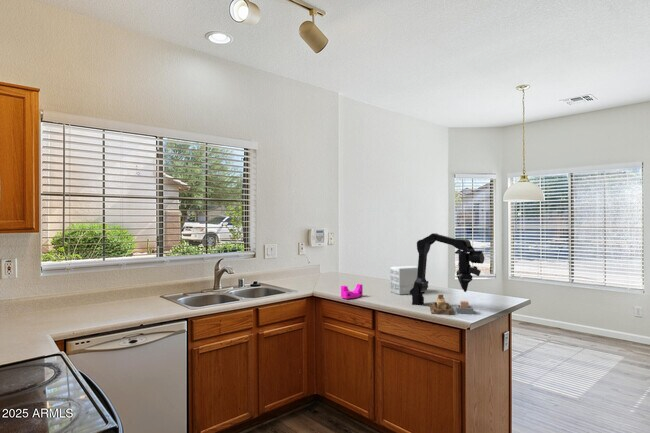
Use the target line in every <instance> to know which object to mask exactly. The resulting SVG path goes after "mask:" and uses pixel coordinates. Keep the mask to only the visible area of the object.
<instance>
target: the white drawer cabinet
mask: <svg viewBox="0 0 650 433" xmlns="http://www.w3.org/2000/svg"><path fill="white" fill-rule="evenodd" d="M389 269H390V270H389V271H390V272H389V273H390V274H389V275H390V280H389V281H390V286H389V287H390V293H393V294H396V295H398V296H400V295H410V290H411V289H412V288H413V286H414V282H415V280H416V278H417V271H418V266H415V265H411V264H410V265H398V266H397V265H396V266H390V267H389Z"/></svg>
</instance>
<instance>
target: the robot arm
mask: <svg viewBox="0 0 650 433" xmlns="http://www.w3.org/2000/svg"><path fill="white" fill-rule="evenodd" d="M435 242H439V243H442V244H446V245H451V246H452V247H454V248H455V249H457V250H456V251H455V252H454V254H455V255H456V254H457V255H458V264H457V266H458V270H456V277H457V279H458V281H459V286H460V287H461V289H462V290H463V292H464V293H467V291H468V287H469V283H470V282H472V281H473V275H475V276H477V277H480V274H481V273H482V272H481V271H482V270H480V269H479V268H478V266H476V265H475V266H474V265H473V266H471V264H470V262H471V263H472V264H481V265H482V264H483V263H484V261H485V255H484V252H483V250H475V248H474V247H473V246H472V243H471V241H470V240H469V239H464V238H455V237H450V236H446V235H443V234H439V233H431V234H430V235H427V236H426V237H424V238H422V239H418V240H417V241H416V250H417V253H418V261H417V267H418V271H417V278H416V280H415V282H414V286H413V288H412V289H411V290H410V294H409V295H411V298H412V300H411V301H412V302H411V305H412V306H424V305H425V296H424V295H425V292H426V291H427V290H428V288H429V280H427V278H426V273H427V259H428V258H427V257H428V254H429V252H430V249H431V246H432V245H433V244H435ZM472 274H473V275H472Z"/></svg>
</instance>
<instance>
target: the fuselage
mask: <svg viewBox="0 0 650 433" xmlns="http://www.w3.org/2000/svg"><path fill="white" fill-rule="evenodd" d="M436 302H437V308H438V309H444V310H446V303H447V301H446V300H445V297H444V294H440V293H439V294H437V298H436Z"/></svg>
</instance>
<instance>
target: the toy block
mask: <svg viewBox="0 0 650 433" xmlns="http://www.w3.org/2000/svg"><path fill="white" fill-rule="evenodd" d="M363 292H364V290H363V283H362V284H361V283H357V284H356V286H355V288H354V289H353V290H349V287H348V285H341V286H340V298H343V299H347V300H348V299H355V298H359V297H363V295H364V294H363Z"/></svg>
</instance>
